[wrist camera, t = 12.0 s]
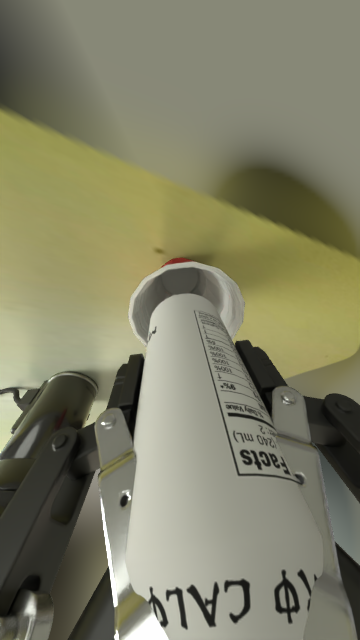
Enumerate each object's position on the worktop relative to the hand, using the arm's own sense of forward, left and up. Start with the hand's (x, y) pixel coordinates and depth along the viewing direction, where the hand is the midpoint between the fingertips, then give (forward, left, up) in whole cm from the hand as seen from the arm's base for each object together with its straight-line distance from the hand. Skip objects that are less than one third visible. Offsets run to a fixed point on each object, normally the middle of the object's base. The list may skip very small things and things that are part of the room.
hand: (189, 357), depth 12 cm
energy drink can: (0, 0, -5) cm, 5 cm away
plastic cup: (0, -1, -17) cm, 17 cm away
